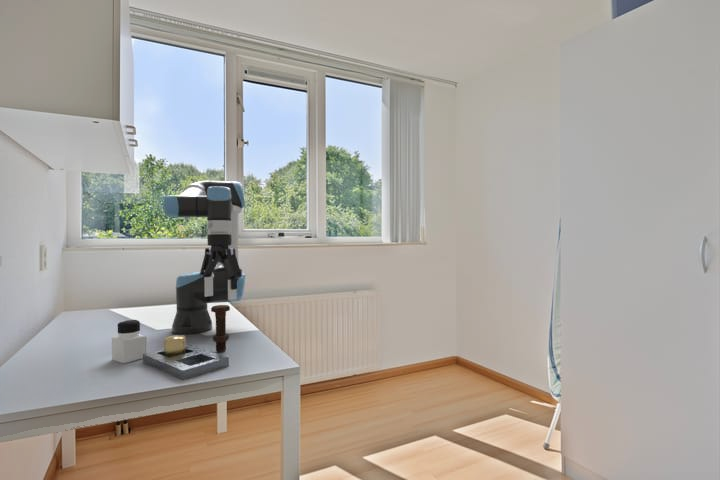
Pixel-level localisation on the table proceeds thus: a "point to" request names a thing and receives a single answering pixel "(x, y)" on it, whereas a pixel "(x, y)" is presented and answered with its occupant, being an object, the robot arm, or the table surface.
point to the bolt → (220, 327)
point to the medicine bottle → (128, 342)
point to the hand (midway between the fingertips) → (220, 297)
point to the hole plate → (184, 358)
